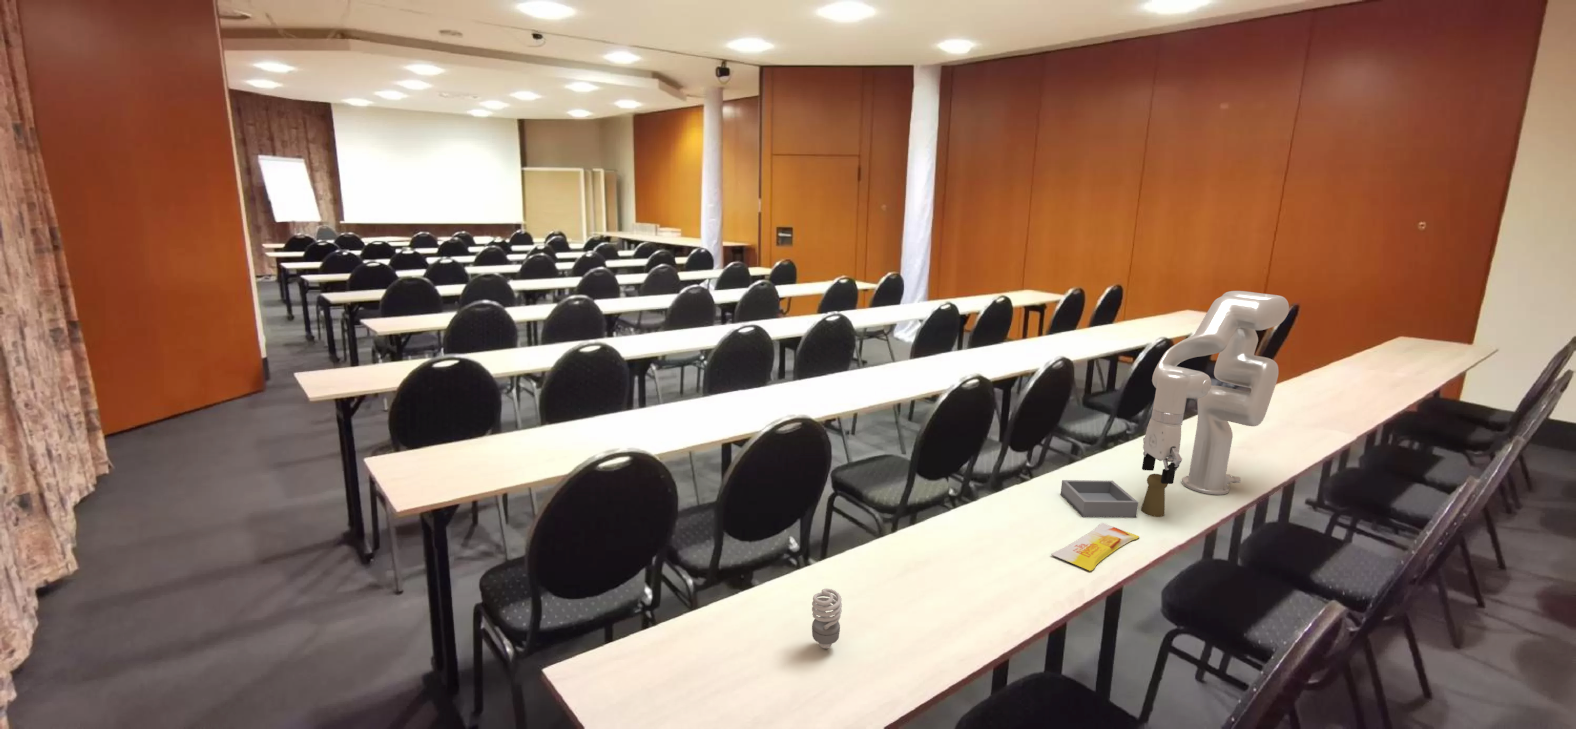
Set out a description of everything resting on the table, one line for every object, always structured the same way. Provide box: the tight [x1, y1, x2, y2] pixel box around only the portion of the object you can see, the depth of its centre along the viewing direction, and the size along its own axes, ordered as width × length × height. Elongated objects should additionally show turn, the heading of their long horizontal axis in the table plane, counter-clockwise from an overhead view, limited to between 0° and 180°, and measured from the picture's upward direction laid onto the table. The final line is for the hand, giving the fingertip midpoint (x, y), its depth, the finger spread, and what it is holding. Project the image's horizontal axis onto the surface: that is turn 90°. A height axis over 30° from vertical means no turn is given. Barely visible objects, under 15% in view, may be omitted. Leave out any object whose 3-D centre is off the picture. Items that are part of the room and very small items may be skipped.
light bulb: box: [811, 588, 843, 649], centre depth 136 cm, size 6×6×12 cm
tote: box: [1060, 479, 1139, 519], centre depth 203 cm, size 15×15×4 cm
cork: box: [1140, 473, 1169, 518], centre depth 199 cm, size 6×6×11 cm
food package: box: [1051, 522, 1140, 572], centre depth 179 cm, size 27×2×10 cm
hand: (1157, 476), depth 197 cm, fingers open, 9 cm apart
